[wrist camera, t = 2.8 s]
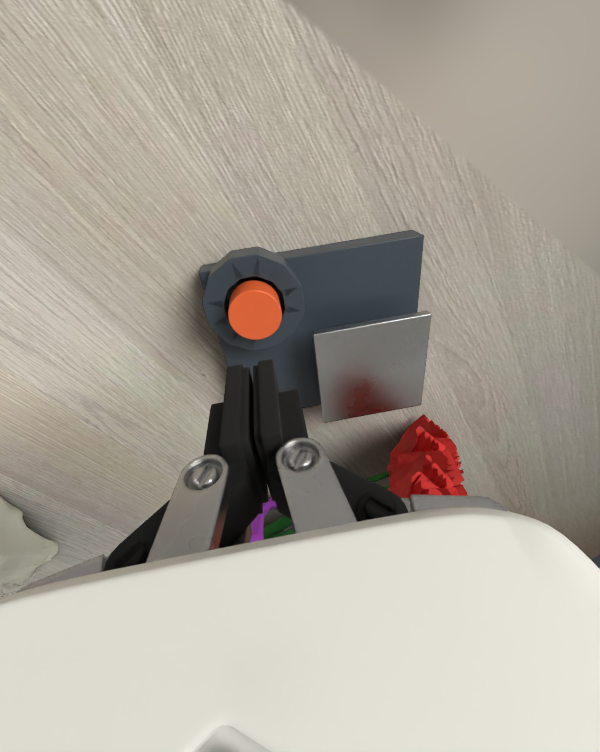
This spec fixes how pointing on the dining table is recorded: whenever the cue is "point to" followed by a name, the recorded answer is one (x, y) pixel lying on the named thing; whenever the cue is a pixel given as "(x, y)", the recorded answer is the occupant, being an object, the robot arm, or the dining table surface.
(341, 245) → the scale
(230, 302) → the button
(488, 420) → the dining table surface
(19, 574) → the decorative stone
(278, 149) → the dining table surface
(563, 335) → the dining table surface
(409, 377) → the pan
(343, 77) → the dining table surface
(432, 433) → the bouquet
